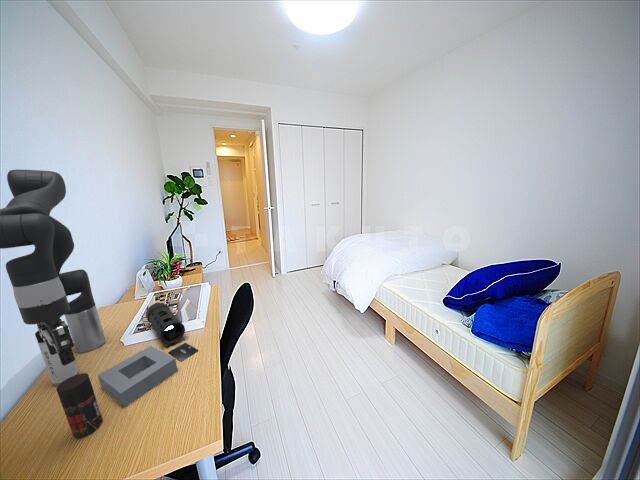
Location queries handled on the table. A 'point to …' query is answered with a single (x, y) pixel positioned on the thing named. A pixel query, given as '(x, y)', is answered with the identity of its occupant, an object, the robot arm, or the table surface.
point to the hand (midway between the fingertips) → (62, 357)
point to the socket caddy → (131, 389)
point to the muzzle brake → (165, 323)
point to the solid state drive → (183, 352)
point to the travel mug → (56, 363)
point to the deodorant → (80, 405)
